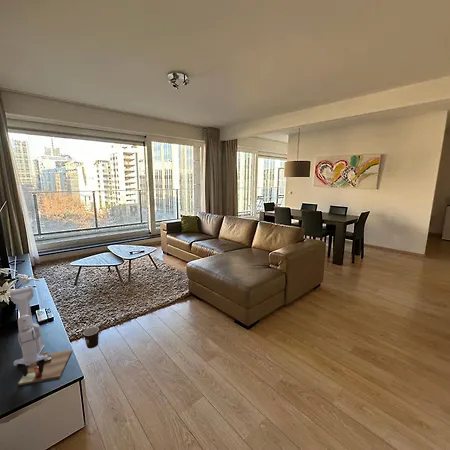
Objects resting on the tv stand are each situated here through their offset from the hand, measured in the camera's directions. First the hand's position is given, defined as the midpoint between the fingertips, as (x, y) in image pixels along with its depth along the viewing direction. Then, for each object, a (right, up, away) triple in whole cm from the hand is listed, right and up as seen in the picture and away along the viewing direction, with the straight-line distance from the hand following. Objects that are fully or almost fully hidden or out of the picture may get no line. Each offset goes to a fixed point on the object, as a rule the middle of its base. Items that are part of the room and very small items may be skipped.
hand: (33, 373), depth 129 cm
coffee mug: (+16, +2, +28) cm, 32 cm away
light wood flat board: (+1, -2, +9) cm, 9 cm away
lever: (0, -1, +7) cm, 7 cm away
